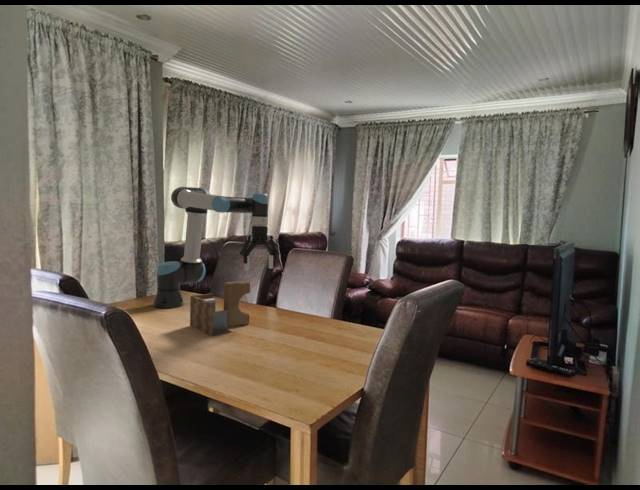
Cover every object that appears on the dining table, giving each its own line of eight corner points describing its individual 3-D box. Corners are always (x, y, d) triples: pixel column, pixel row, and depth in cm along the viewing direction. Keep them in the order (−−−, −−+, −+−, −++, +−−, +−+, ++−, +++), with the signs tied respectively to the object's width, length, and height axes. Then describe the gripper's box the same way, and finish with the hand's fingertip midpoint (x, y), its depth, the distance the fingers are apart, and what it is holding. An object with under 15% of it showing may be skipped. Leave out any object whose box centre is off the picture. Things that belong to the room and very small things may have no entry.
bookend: (207, 333, 180) (207, 312, 179) (226, 329, 186) (226, 309, 185) (212, 335, 176) (213, 315, 175) (231, 332, 182) (232, 312, 181)
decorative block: (245, 321, 200) (246, 280, 198) (249, 324, 195) (250, 282, 193) (222, 324, 194) (223, 282, 192) (226, 327, 189) (227, 284, 187)
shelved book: (195, 326, 188) (195, 300, 187) (211, 323, 194) (212, 298, 193) (198, 327, 186) (198, 301, 185) (215, 325, 192) (215, 299, 191)
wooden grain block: (190, 325, 189) (190, 295, 188) (211, 322, 196) (211, 293, 195) (209, 336, 175) (210, 303, 174) (231, 332, 182) (231, 300, 181)
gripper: (240, 226, 188) (240, 272, 190) (285, 226, 204) (284, 268, 206) (232, 225, 194) (232, 270, 195) (276, 225, 210) (275, 266, 212)
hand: (259, 269), depth 201 cm, fingers open, 13 cm apart
